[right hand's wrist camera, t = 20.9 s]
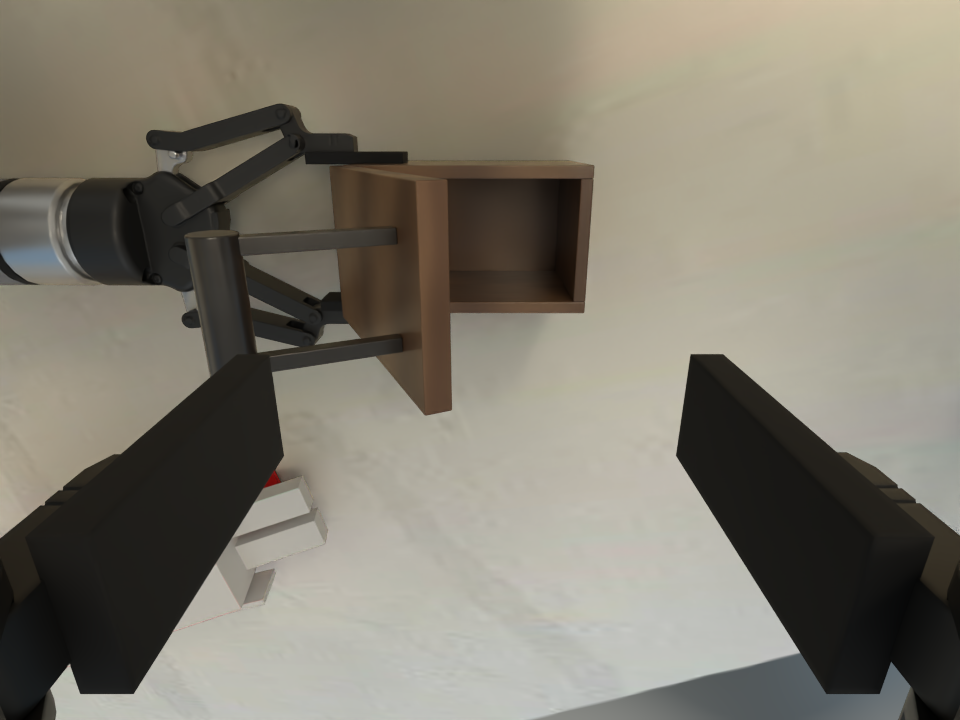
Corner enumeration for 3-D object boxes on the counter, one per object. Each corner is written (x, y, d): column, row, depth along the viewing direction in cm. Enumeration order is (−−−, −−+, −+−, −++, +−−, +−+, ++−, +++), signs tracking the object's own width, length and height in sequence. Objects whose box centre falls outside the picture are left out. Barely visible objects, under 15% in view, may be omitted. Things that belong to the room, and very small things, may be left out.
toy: (330, 601, 48) (-9, 715, 48) (345, 513, 61) (77, 602, 60) (273, 486, 44) (-99, 608, 43) (301, 417, 57) (13, 510, 56)
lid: (448, 179, 21) (169, 186, 17) (452, 410, 24) (221, 457, 21) (349, 165, 34) (182, 168, 31) (361, 314, 38) (212, 333, 34)
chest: (569, 160, 45) (594, 165, 35) (562, 277, 48) (584, 313, 38) (373, 160, 45) (342, 165, 35) (381, 277, 48) (354, 313, 38)
